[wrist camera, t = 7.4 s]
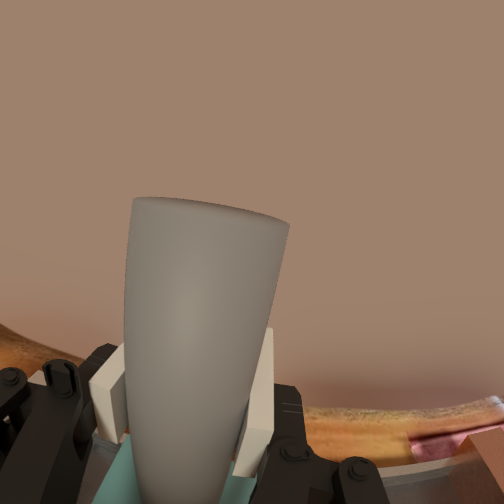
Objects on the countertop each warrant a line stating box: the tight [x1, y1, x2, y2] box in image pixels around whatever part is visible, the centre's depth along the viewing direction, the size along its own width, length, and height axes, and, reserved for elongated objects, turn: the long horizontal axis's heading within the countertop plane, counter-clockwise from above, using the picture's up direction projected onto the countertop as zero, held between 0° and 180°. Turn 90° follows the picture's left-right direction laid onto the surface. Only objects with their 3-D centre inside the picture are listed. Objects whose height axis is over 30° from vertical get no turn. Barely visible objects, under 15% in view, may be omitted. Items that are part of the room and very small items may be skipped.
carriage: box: [91, 197, 290, 504], centre depth 9 cm, size 8×7×17 cm
